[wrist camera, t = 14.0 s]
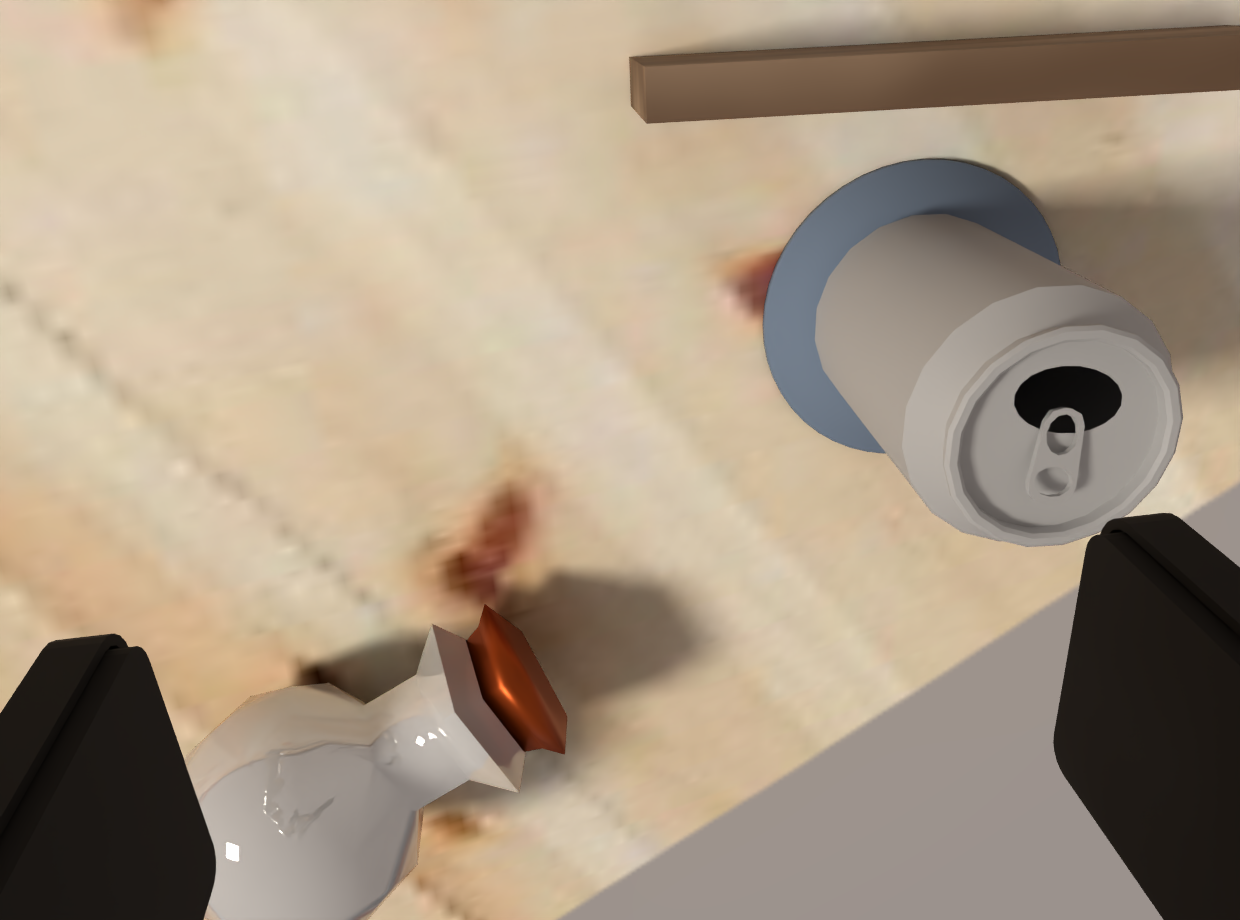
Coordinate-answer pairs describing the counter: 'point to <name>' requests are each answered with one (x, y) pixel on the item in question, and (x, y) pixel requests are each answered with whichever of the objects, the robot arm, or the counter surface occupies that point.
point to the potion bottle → (362, 774)
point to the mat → (842, 228)
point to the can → (999, 380)
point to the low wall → (934, 73)
